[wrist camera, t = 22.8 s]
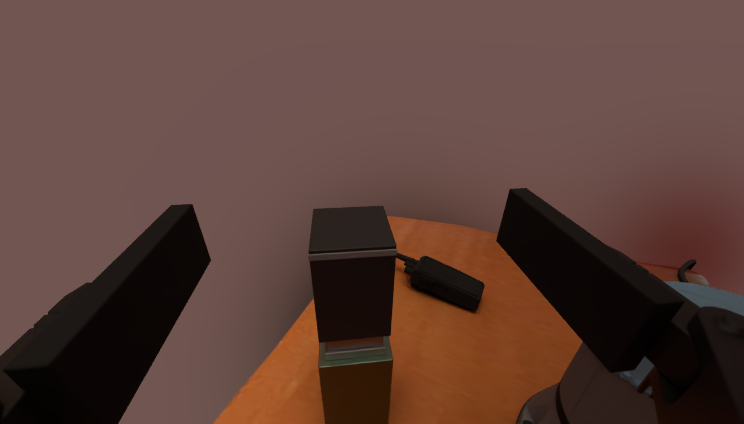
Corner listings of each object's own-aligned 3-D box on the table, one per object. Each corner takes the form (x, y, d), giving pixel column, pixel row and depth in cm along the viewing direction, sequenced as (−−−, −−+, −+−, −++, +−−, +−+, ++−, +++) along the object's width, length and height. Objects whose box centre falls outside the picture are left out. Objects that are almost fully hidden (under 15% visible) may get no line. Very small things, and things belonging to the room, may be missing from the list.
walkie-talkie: (475, 314, 46) (366, 265, 53) (473, 314, 52) (375, 269, 59) (488, 278, 47) (380, 234, 55) (485, 281, 53) (387, 241, 60)
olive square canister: (379, 372, 40) (382, 284, 32) (387, 430, 34) (395, 338, 26) (327, 377, 39) (318, 289, 31) (327, 438, 33) (315, 346, 25)
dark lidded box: (380, 285, 32) (383, 205, 27) (391, 336, 26) (397, 245, 21) (320, 290, 31) (312, 208, 26) (318, 343, 25) (307, 251, 21)
